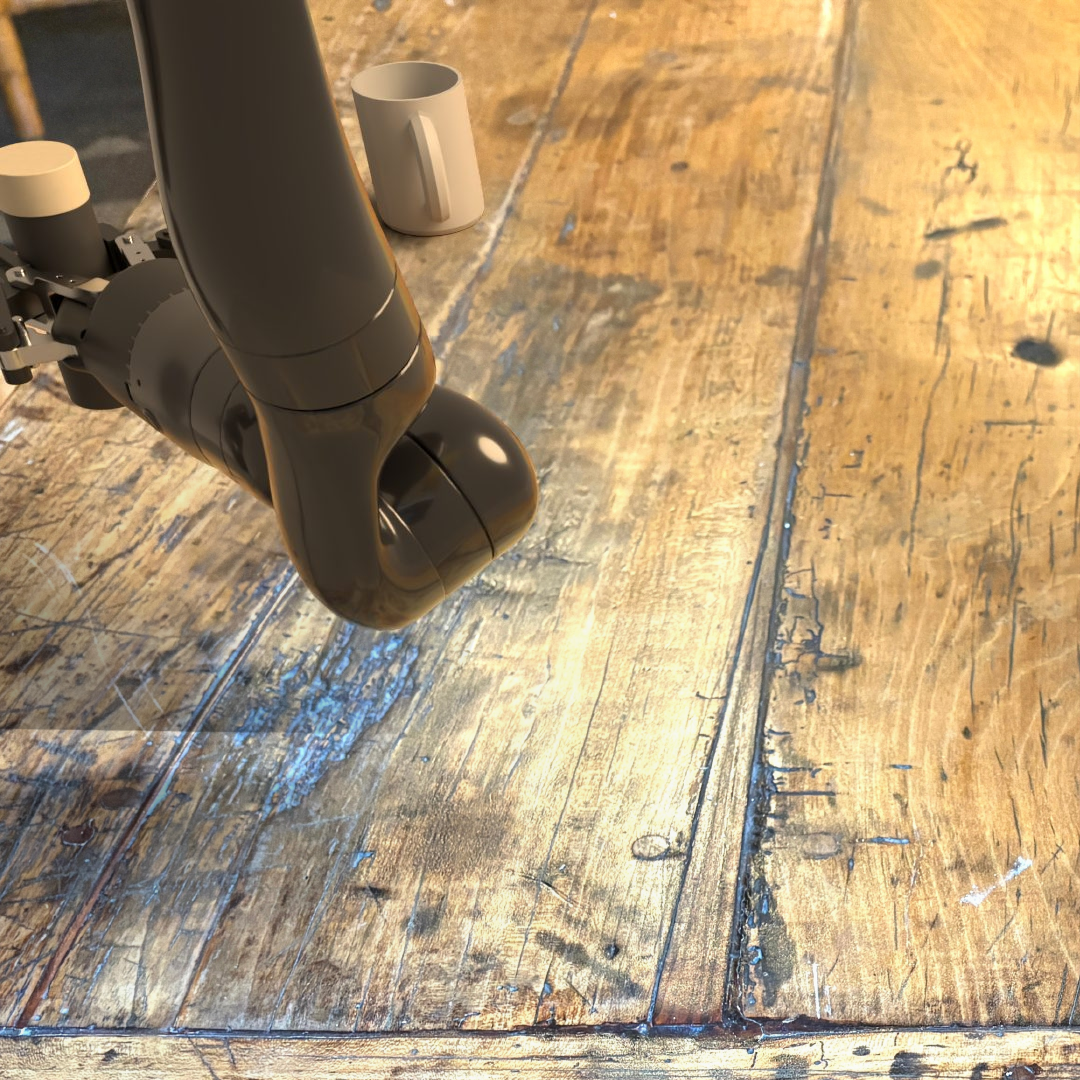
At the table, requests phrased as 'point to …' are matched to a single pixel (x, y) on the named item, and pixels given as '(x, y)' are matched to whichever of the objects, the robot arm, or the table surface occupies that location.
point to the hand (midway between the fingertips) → (42, 250)
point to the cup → (419, 146)
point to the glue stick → (55, 231)
